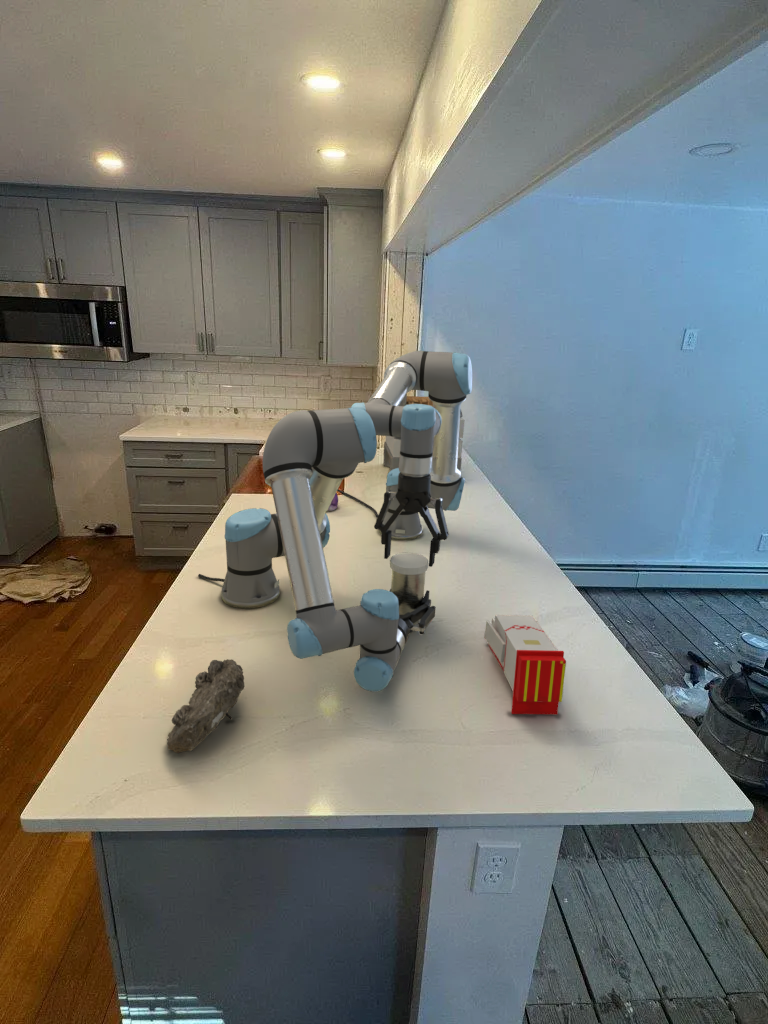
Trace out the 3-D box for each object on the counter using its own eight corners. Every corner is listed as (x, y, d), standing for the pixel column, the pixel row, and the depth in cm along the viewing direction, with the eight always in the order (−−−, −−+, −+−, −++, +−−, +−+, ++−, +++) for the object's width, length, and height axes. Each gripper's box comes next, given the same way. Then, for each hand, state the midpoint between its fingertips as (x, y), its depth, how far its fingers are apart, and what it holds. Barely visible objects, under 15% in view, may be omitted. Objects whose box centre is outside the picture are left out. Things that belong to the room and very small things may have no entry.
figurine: (320, 513, 215) (320, 475, 210) (311, 505, 224) (311, 468, 219) (343, 510, 219) (344, 473, 214) (333, 502, 228) (333, 466, 223)
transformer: (382, 463, 289) (386, 382, 275) (445, 464, 293) (451, 384, 279) (390, 482, 257) (394, 392, 243) (460, 483, 261) (468, 394, 247)
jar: (428, 625, 143) (432, 564, 137) (401, 633, 139) (405, 571, 133) (408, 610, 149) (412, 552, 144) (383, 618, 145) (385, 558, 139)
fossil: (192, 660, 117) (244, 628, 112) (224, 691, 120) (276, 661, 115) (142, 746, 98) (202, 712, 93) (182, 779, 101) (242, 748, 96)
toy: (530, 600, 137) (574, 657, 108) (525, 651, 140) (567, 720, 111) (480, 599, 137) (511, 656, 107) (477, 651, 139) (506, 719, 110)
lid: (435, 569, 138) (436, 563, 137) (404, 578, 133) (404, 571, 132) (413, 555, 145) (413, 549, 144) (382, 563, 140) (382, 556, 139)
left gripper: (343, 644, 129) (371, 598, 150) (434, 661, 124) (449, 611, 145) (344, 615, 127) (372, 573, 147) (437, 631, 122) (452, 585, 143)
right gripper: (467, 475, 131) (458, 562, 138) (373, 463, 137) (369, 547, 144) (461, 483, 124) (452, 574, 131) (362, 470, 130) (359, 558, 138)
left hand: (410, 592), depth 146 cm, fingers closed on jar, 8 cm apart
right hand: (409, 560), depth 138 cm, fingers open, 10 cm apart
